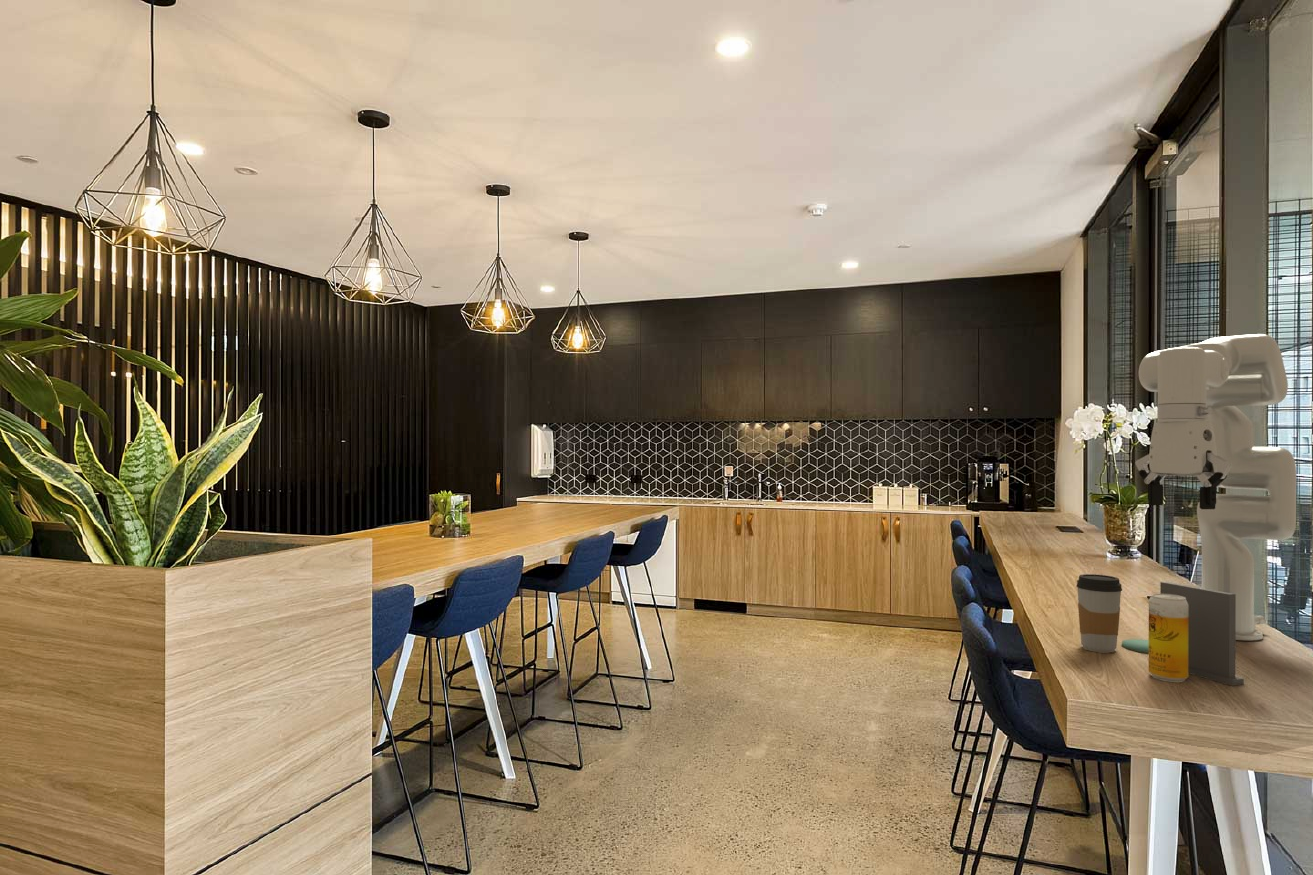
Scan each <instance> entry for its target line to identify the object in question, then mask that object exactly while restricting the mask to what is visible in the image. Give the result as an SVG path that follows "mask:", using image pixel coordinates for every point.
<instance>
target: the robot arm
mask: <svg viewBox="0 0 1313 875" xmlns="http://www.w3.org/2000/svg"><path fill="white" fill-rule="evenodd" d="M1285 368H1286V367H1285V364H1284V360H1283V356H1282V352H1281V350H1280V346H1279V344H1278V343H1277V341H1276V340H1275V339H1274V338H1273V336H1271V335H1268V334H1264V333H1257V334H1254V333H1253V334H1241V335H1230V336H1218V337H1211V338H1208V339H1206V340H1203V341H1202V342H1198V343H1191V344H1187V345H1182V346H1178V347H1172V348H1167V349H1161V350H1156V351H1153V352H1150V353H1148V354H1146V355H1145V356H1144V357H1143V359H1141V361H1140V364H1139V368H1138V379H1139V382H1140V385H1141V386H1142V388H1144V389H1145V390H1146V391H1148V392H1154V393H1155V392H1156V393H1157V405H1156V406H1157V409H1156V410H1157V413H1156V414H1157V415H1156V416H1157V417H1156V422H1154V424H1153V427H1152V431H1151V437H1150V444H1149V453H1148V454H1146V455H1144V456H1143V457H1140V458H1139V459H1137V460H1136V461H1135V466H1136V468H1137V470H1138V474H1139V476H1140V477H1141V478H1142V479H1143V482H1144V484H1146V485H1147V502H1148V505H1149V506H1163V505H1164V485H1163V484H1161V483H1162V481H1163V480H1164V479H1165V478H1166V477H1167V476H1182V477H1183V476H1185V477H1186V476H1187V477H1191V476H1193V477H1194V476H1195V477H1196V478H1197V479H1198V481H1199V482H1200V483H1201V484H1202V486H1200V487H1199V502H1198V503H1197V506H1196V514H1197V522H1198V526H1199V527H1198V528H1199V533H1200V541H1201V542H1200V544H1201V588H1205V589H1210V590H1216V591H1221V592H1227V593H1232V594H1236V639H1235V641H1245V642H1246V641H1248V642H1249V641H1252V642H1253V641H1261V640H1262V639H1263V638H1264V636H1263V635H1264V634H1263V632H1262V631H1260V630H1258V629H1256V626H1257V625H1264V624H1265V623H1266V618H1265V617H1264V616H1263V615H1256V614H1255V605H1254V604H1255V583H1254V582H1255V559H1254V556H1253V553H1252V552H1251V551H1250V550H1249V548H1248V547H1247V546H1246V545H1245V544H1244V543H1243V542H1242V541H1241V540H1240V539H1255V540H1269V541H1270V540H1271V541H1272V540H1273V541H1285V540H1289V539H1291V538H1292V536H1293V535H1294V534H1295V531H1296V522H1297V466H1296V462H1295V461H1296V460H1295V458H1294V455H1293V454H1292V453H1291V451H1290V450H1288V449H1286V448H1284V447H1283V448H1282V447H1279V446H1278V447H1277V446H1255V444H1254V425H1253V423H1252V421H1251V420H1250V419H1249V417H1248V416H1246V414H1245V413H1244V412H1242V410H1240V409H1239V408H1238V406H1239V407H1242V406H1243V407H1245V406H1247V407H1248V406H1252V407H1253V406H1271V405H1278V404H1279V403H1281V402H1283V401H1284V400H1285V398H1286V396H1287V395H1288V389H1289V384H1288V377H1287V372H1286V369H1285ZM1148 465H1149V467H1148ZM1217 488H1224V489H1237V490H1239V489H1240V490H1241V489H1242V490H1261V491H1266V492H1268V494H1269V496H1268V495H1251V494H1249V495H1247V494H1234V493H1233V494H1232V493H1217Z"/></svg>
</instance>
